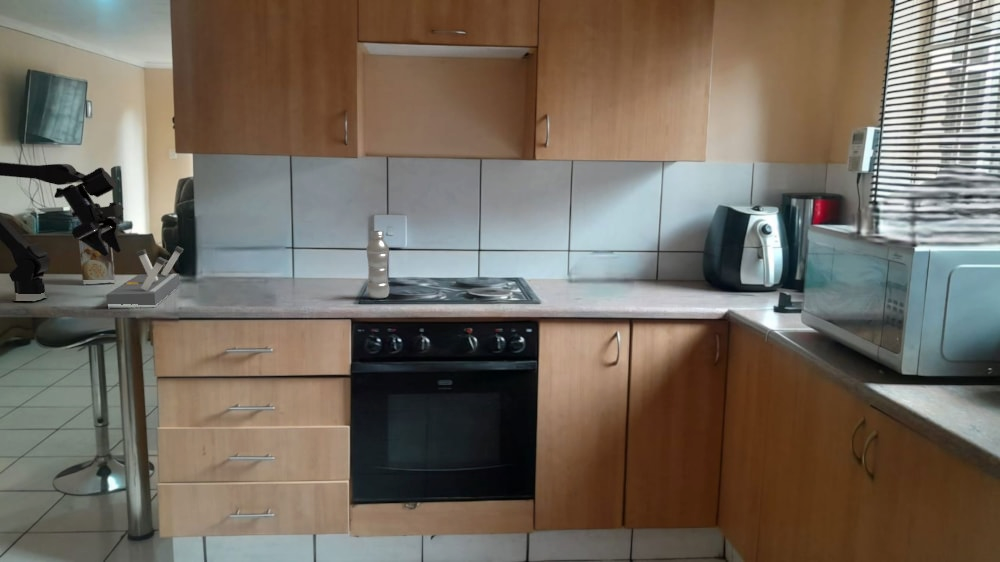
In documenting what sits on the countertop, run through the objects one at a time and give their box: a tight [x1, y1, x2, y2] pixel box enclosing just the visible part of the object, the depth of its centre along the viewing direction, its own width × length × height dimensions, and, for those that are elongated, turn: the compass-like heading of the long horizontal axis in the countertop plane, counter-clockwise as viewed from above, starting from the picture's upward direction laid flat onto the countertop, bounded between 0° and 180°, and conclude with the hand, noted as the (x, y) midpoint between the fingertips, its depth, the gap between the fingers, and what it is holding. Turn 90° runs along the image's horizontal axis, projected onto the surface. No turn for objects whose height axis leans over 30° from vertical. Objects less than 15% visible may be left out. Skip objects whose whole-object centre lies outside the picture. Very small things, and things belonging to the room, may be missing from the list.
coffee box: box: [78, 236, 116, 281], centre depth 233 cm, size 9×6×16 cm
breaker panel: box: [105, 273, 181, 305], centre depth 212 cm, size 12×35×4 cm, turn 14°
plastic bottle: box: [365, 230, 390, 300], centre depth 212 cm, size 6×7×20 cm
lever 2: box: [160, 245, 185, 276], centre depth 225 cm, size 2×3×10 cm
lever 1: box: [141, 256, 168, 291], centre depth 200 cm, size 2×3×10 cm
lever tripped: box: [135, 248, 158, 282], centre depth 211 cm, size 2×3×10 cm
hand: (113, 253), depth 206 cm, fingers open, 9 cm apart
